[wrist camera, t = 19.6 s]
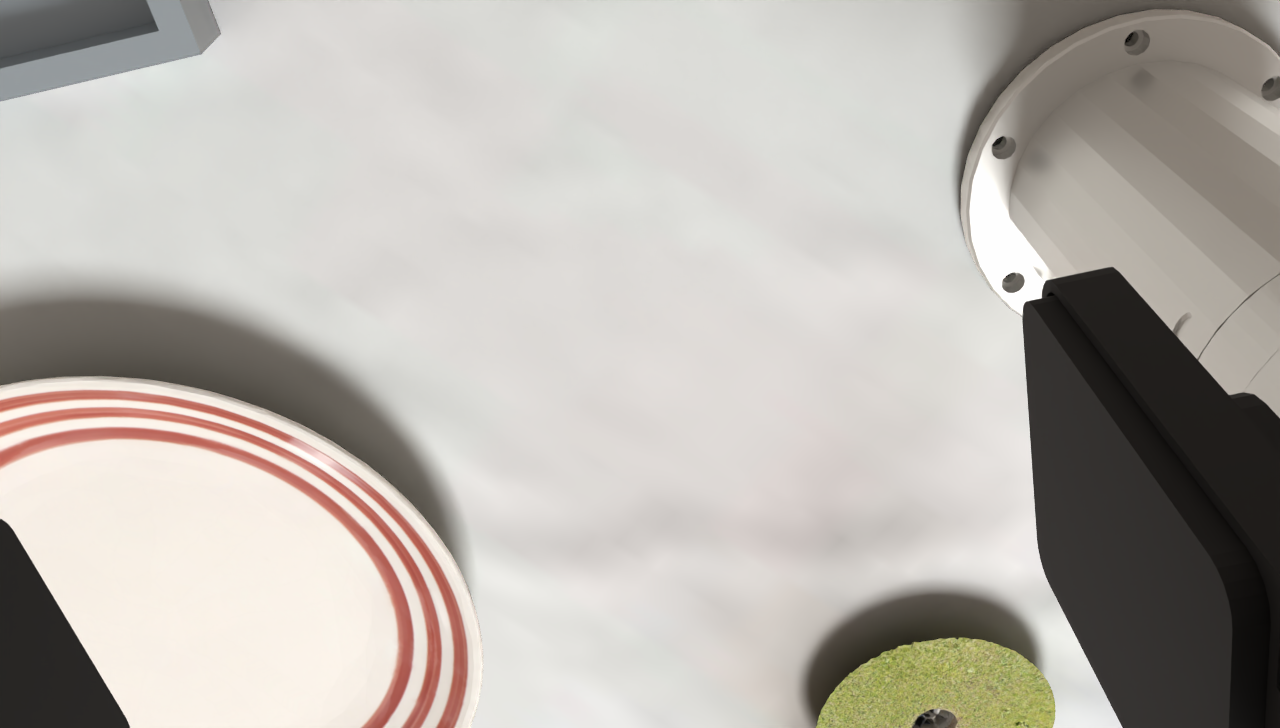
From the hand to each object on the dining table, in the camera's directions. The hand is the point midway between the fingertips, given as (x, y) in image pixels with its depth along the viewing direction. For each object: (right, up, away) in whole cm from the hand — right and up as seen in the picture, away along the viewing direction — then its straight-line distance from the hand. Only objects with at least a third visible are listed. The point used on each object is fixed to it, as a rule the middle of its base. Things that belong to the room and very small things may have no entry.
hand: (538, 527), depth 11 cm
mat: (+15, -15, +48) cm, 52 cm away
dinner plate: (-20, -9, +43) cm, 48 cm away
